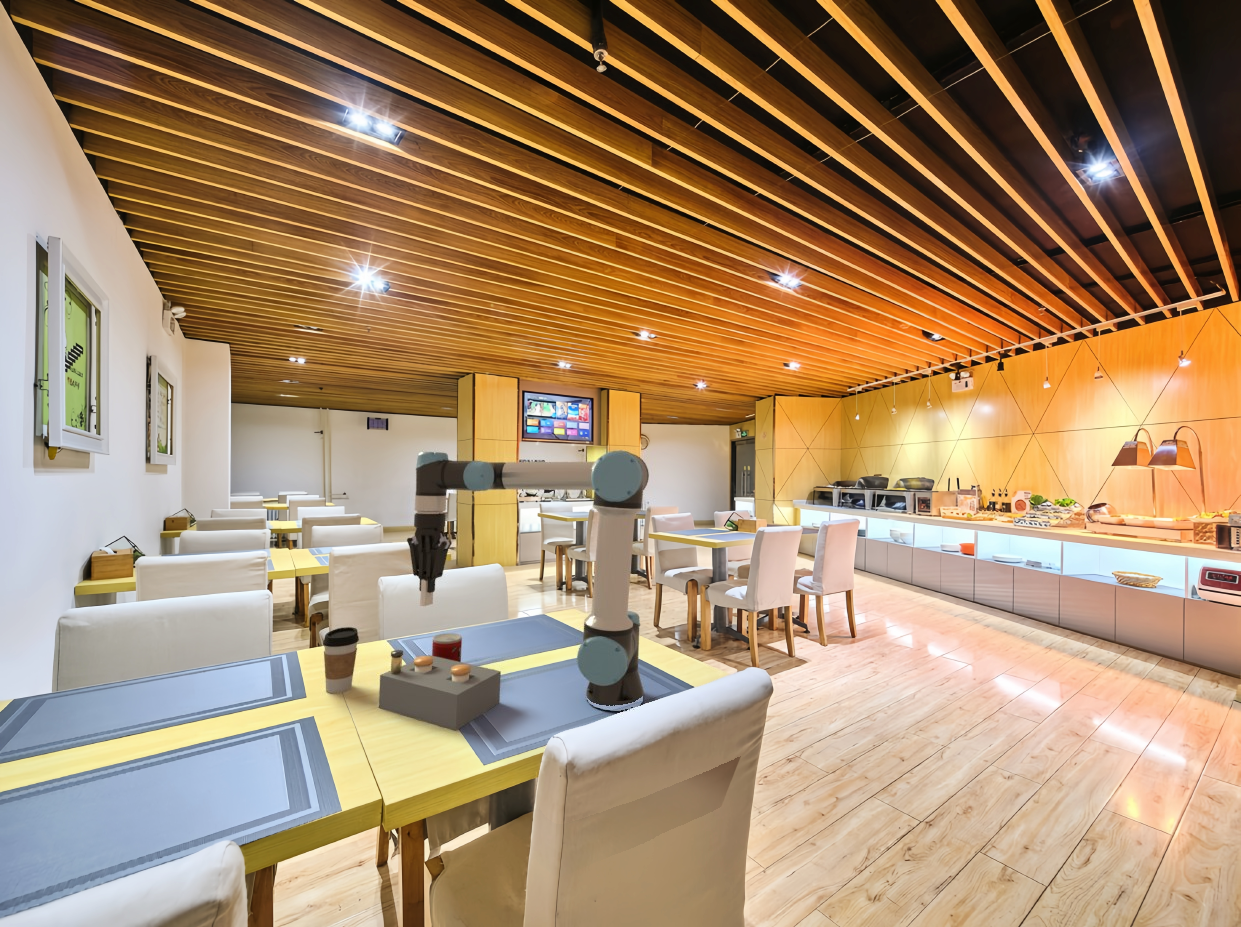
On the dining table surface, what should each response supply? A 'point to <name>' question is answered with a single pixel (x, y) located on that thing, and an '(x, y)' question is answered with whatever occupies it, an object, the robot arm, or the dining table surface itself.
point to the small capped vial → (396, 661)
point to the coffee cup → (340, 658)
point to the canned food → (447, 646)
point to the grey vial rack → (440, 693)
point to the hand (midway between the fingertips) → (426, 604)
